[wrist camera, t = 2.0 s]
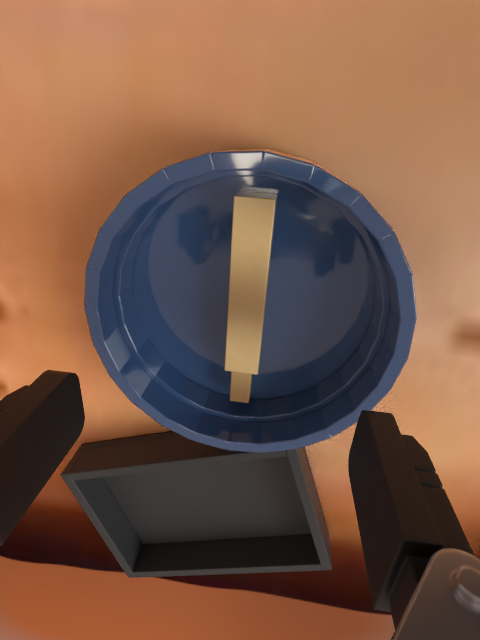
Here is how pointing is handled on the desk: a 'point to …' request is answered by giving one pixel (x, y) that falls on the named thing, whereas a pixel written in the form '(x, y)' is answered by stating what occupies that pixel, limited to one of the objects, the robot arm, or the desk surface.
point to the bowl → (280, 312)
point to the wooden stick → (248, 287)
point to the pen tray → (200, 507)
